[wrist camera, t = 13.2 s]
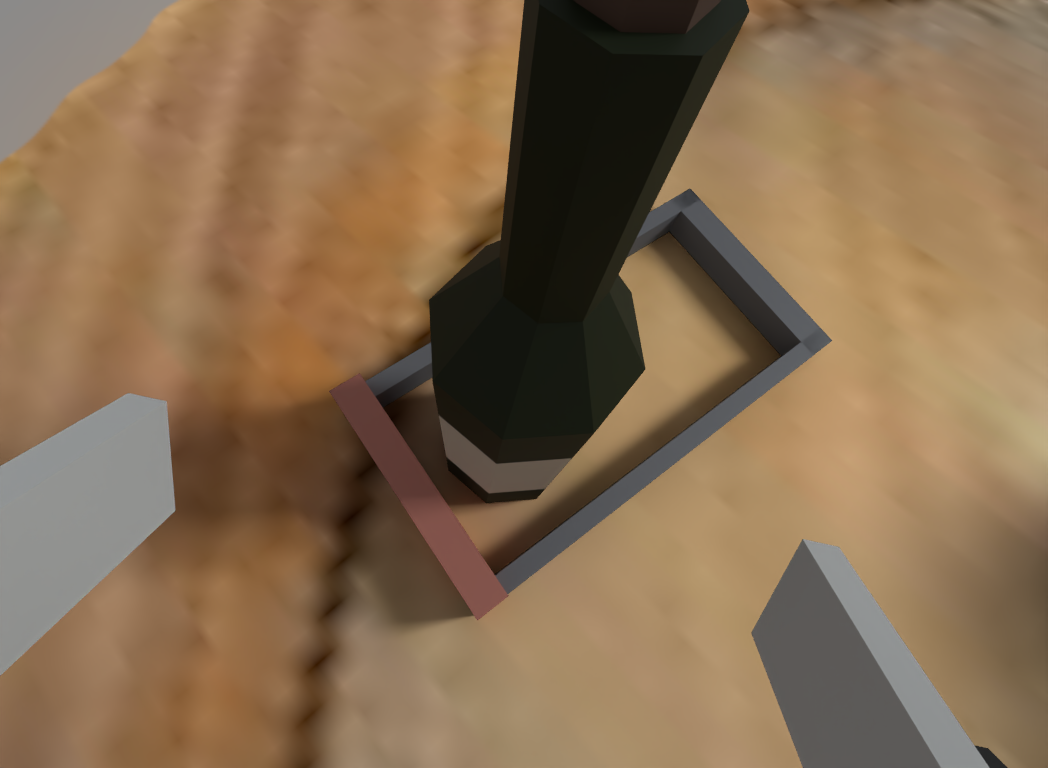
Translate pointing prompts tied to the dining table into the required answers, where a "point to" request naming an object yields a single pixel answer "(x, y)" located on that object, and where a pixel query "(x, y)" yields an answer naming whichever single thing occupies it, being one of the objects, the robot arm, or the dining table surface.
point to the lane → (485, 590)
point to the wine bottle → (568, 234)
